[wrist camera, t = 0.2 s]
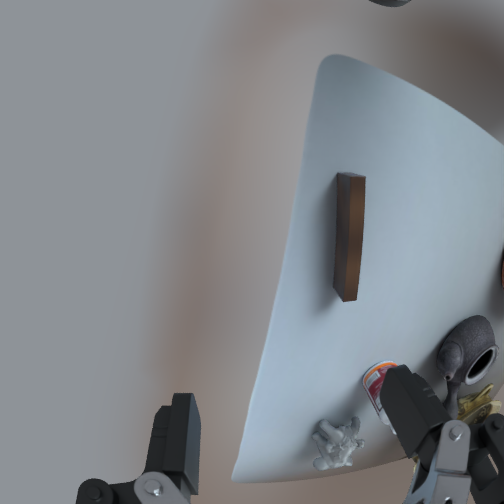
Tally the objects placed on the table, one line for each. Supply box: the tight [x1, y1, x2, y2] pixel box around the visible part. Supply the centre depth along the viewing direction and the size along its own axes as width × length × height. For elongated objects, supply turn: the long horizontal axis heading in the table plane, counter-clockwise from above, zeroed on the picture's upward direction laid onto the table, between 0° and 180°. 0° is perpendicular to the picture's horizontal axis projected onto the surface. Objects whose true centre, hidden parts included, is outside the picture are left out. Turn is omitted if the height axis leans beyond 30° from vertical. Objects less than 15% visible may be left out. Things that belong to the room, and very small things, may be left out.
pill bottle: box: [363, 361, 397, 435], centre depth 34 cm, size 6×6×11 cm
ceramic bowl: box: [412, 384, 501, 472], centre depth 43 cm, size 30×24×10 cm
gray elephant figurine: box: [312, 416, 365, 471], centre depth 40 cm, size 9×12×8 cm
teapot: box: [437, 315, 499, 420], centre depth 35 cm, size 19×15×10 cm
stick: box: [333, 173, 366, 302], centre depth 29 cm, size 13×2×4 cm, turn 3°
